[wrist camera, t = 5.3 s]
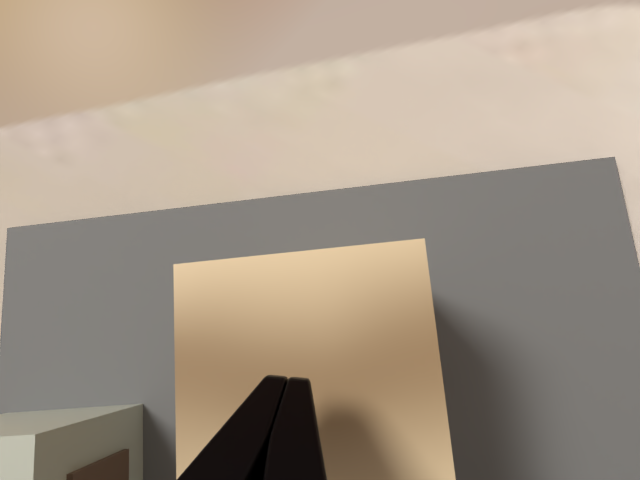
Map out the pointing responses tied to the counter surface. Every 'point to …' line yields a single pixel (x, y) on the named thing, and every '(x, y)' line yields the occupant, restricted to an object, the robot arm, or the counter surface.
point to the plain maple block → (319, 353)
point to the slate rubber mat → (358, 229)
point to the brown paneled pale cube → (73, 444)
